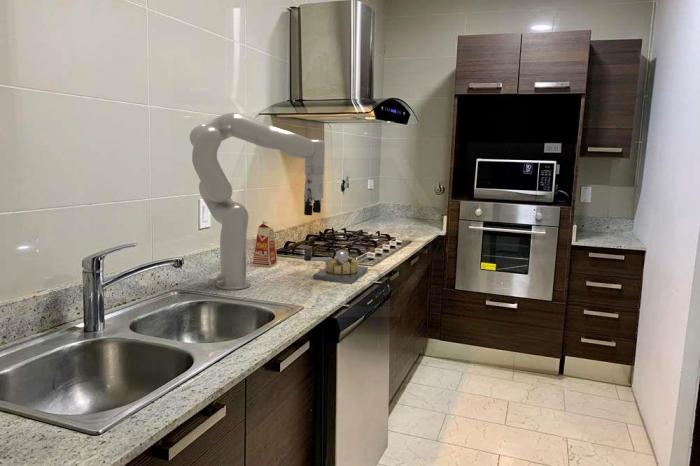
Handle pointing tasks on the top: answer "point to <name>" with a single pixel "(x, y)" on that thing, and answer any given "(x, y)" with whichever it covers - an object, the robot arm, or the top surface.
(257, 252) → the milk carton
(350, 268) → the tan ring with lever
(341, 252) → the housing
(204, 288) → the top surface
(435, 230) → the top surface
